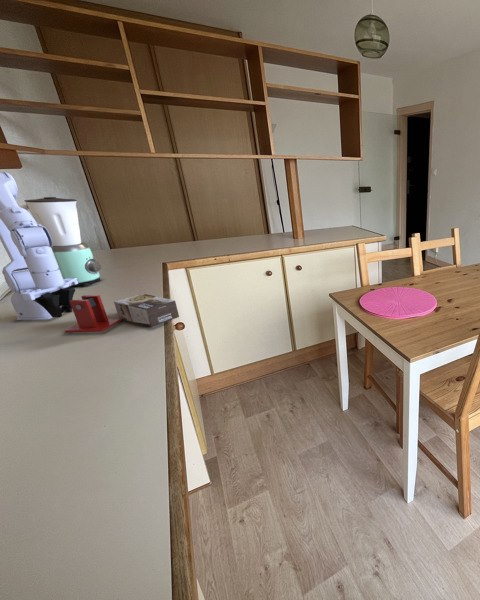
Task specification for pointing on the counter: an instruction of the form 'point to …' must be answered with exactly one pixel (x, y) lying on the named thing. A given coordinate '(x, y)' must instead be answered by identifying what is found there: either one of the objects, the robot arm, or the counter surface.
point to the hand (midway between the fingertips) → (62, 314)
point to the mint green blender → (65, 238)
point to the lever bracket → (90, 316)
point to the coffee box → (146, 309)
